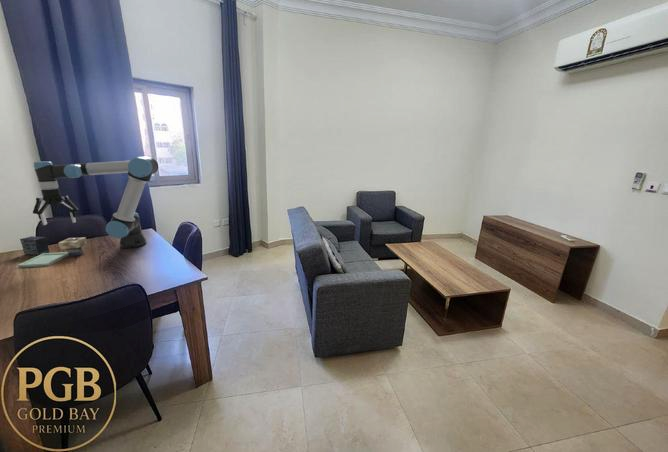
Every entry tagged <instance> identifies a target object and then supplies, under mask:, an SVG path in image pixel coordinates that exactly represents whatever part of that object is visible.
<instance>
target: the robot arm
mask: <svg viewBox="0 0 668 452" xmlns="http://www.w3.org/2000/svg"><path fill="white" fill-rule="evenodd" d="M33 168H34V171H35V174H36V177H37V181H38V184H39V189H41V190H40V192H41V195H42V197H41V196H38V197H36V199H35V200H36V201H35V205H34V207H33V210H32V214H33V215H34V214H35V215H37V216H38V220H40V221H41V222H42V226H46V225H48V221H47V218H46V215H45V214H46V213H44V212H45V210H46V209H47V207H49V205H60V206H62V207H63V208H65V209H66V210H68V211H69V214H70V218H71V221H72V224H74V223H77V220H76V218H77V212H78V211H79V210H80V208H79V207H78V206H77V205H76V204H75V203H74V202H73V201H72V200H71V199H70V197H69V195H66V196H62V194H61V190H60V188H59V187H60V186H59V184H58V183H59V182H58V179H76V178H78V179H79V178H80V177H83V176H98V175H112V174H113V175H114V174H127V177H128V180H127V184H126V187H125V189H124V192H123V195H122V197H121V201H120V203H119V205H118V206H119V207H118V209H117V212H114V213H113V214H112V217H111V219H110V221H109V222H108V223H107V224H106V226H105V232H106V233H107V234H108V235H109V236H110V237H112V238H114V239H119V247H120V248H122V249H132V248H131V247H134V248H138V247H137V246H139V247H141V246H140V245H142V246H144V245H143V244H145V243H146V242H147V239H146V237H145V236H144V234H143V232H142V226H141V219H140V216H139V213H138V212H136V210H137V208H138V205H139V203H140V199H141V197H142V194H143V191H144V189H145V186H146V184H147V183H149V182H150V181H151V178H152V176H153V175H155V174H156V172H158V170H159V163H158V162H157V160H156V159H155V158H153V157H150V156H137V157H133V158H131V159H130V160H120V161H119V160H117V161H105V162H104V161H102V162H99V161H98V162H87V163H85V162H84V163H83V162H81V163H72V164H69V163H68V164H53V162H52V161H45V160H44V161H35V162H33ZM42 201H44V203H43V205H42V206H41V204H42ZM65 202H66V203H65ZM146 244H147V243H146ZM146 244H145V245H146Z"/></svg>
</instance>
